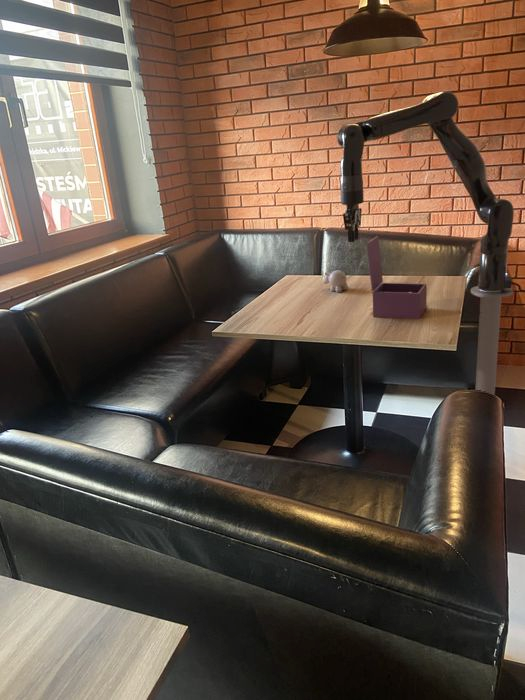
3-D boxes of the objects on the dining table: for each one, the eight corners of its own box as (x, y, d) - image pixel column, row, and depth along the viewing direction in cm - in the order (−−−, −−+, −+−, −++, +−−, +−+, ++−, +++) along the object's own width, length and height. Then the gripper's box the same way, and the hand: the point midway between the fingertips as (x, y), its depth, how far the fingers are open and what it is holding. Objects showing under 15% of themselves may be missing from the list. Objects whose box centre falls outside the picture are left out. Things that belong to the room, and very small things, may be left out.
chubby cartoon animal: (330, 286, 229) (329, 266, 226) (350, 289, 220) (349, 269, 217) (318, 289, 225) (316, 270, 222) (338, 293, 216) (337, 273, 213)
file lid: (378, 236, 187) (376, 236, 187) (368, 242, 176) (366, 243, 177) (382, 281, 192) (381, 281, 192) (373, 291, 182) (371, 291, 182)
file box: (426, 308, 188) (426, 283, 185) (419, 319, 178) (419, 293, 175) (382, 306, 195) (382, 282, 192) (373, 316, 185) (372, 292, 182)
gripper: (356, 190, 171) (357, 244, 177) (368, 186, 183) (369, 236, 189) (334, 192, 175) (336, 244, 181) (347, 187, 186) (349, 237, 192)
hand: (353, 240), depth 185 cm, fingers open, 4 cm apart
